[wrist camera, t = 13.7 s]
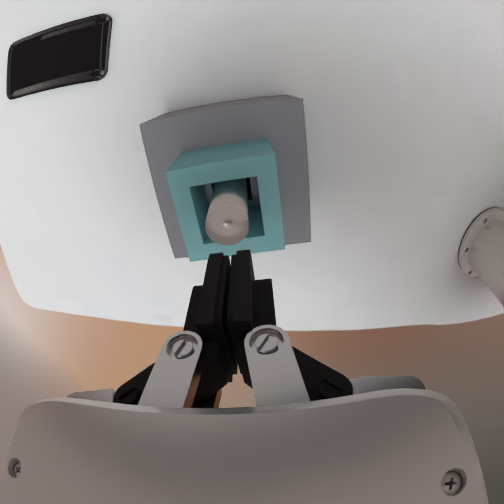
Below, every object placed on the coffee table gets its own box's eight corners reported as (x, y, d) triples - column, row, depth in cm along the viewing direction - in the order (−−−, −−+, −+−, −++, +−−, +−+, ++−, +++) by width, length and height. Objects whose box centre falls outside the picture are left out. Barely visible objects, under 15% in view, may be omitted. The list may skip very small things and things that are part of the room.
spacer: (267, 138, 20) (275, 153, 16) (276, 215, 23) (284, 248, 19) (181, 152, 20) (165, 171, 16) (199, 227, 24) (190, 261, 19)
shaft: (243, 147, 27) (245, 204, 15) (246, 170, 28) (251, 242, 16) (219, 151, 27) (201, 210, 15) (223, 174, 28) (209, 247, 17)
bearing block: (286, 95, 25) (302, 98, 18) (295, 204, 31) (310, 241, 25) (165, 113, 25) (139, 124, 19) (188, 218, 32) (174, 258, 25)
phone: (104, 79, 22) (6, 101, 21) (109, 79, 23) (11, 99, 22) (110, 10, 18) (9, 43, 17) (115, 12, 19) (14, 43, 17)
